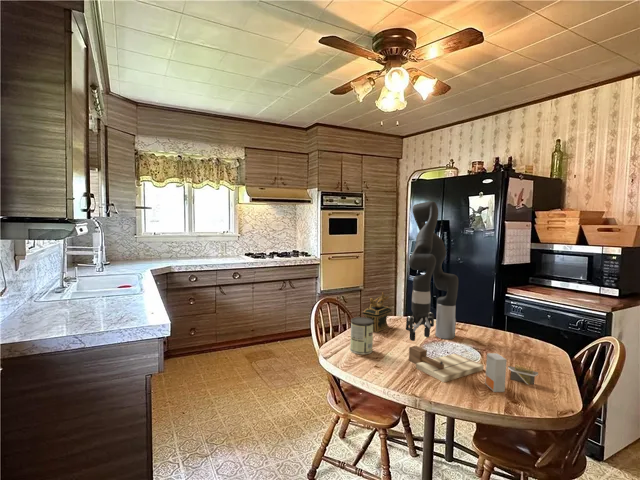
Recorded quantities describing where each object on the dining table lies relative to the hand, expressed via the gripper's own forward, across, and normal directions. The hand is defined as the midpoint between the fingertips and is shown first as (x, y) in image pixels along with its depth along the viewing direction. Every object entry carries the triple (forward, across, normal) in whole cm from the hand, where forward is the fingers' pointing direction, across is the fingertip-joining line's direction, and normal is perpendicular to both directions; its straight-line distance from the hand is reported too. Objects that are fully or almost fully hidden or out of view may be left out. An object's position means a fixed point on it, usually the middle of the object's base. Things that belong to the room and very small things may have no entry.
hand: (419, 338), depth 150 cm
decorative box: (+11, -17, -45) cm, 49 cm away
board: (+10, -6, +11) cm, 16 cm away
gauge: (+10, +1, +4) cm, 11 cm away
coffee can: (+10, +13, -22) cm, 28 cm away
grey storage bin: (+11, -21, +32) cm, 40 cm away
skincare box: (+11, -7, +30) cm, 32 cm away
